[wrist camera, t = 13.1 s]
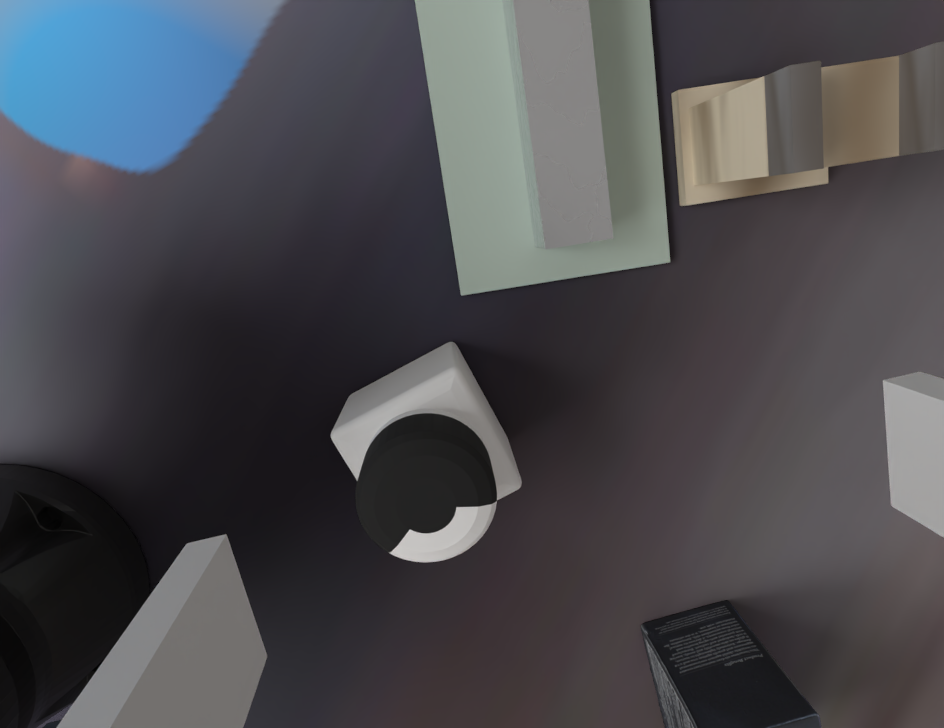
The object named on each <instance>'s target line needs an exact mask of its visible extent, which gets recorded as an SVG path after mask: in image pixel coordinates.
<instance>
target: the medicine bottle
mask: <svg viewBox="0 0 944 728" xmlns="http://www.w3.org/2000/svg"><path fill="white" fill-rule="evenodd" d="M330 436H331V439H332V441H333V443H334V444H335V446H336V448H337V449H338V451H339V452H340V454H341V456H342V457H343V459H344V460H345V462H346V464H347V465H348V467H349V469H350V470H351V472H352V473H353V475H354V477H355V478H356V480H357V485H356V492H355V502H356V510H357V513H358V517H359V519H360V522H361V524H362V526H363V528H364V529H365V531H366V533H367V534H368V535H369V537H370V538H371V539H372V540H373V541H374V542H375V543H376V544H377V545H378V546H380V547H381V548H382V549H384V550H385V551H387V552H388V553H390V554H392V555H394V556H396V557H399V558H402V559H405V560H409V561H414V562H437V561H442V560H446V559H449V558H452V557H455V556H457V555H459V554H461V553H463V552H464V551H466V550H468V549H469V548H471V547H472V546H473V545H474V544H475V543H476V542H478V540H479V539H480V538H481V537H482V536H483V535H484V533H485V532H486V530H487V529H488V527H489V525H490V523H491V521H492V519H493V516H494V513H495V510H496V504H497V500H499V499H501V498H503V497H505V496H506V495H508V494H510V493H512V492H514V491H516V490H518V489H519V488H520V487H521V484H522V481H521V477H520V474H519V471H518V468H517V465H516V462H515V459H514V456H513V453H512V450H511V447H510V444H509V441H508V438H507V436H506V434H505V432H504V430H503V428H502V427H501V425H500V423H499V421H498V419H497V418H496V416H495V414H494V412H493V410H492V408H491V407H490V405H489V403H488V401H487V399H486V397H485V396H484V394H483V392H482V390H481V388H480V387H479V385H478V383H477V381H476V379H475V377H474V376H473V374H472V372H471V370H470V368H469V367H468V365H467V363H466V361H465V359H464V357H463V356H462V354H461V352H460V350H459V348H458V346H457V345H456V344H455V343H454V342H448V343H446V344H444V345H442V346H440V347H438V348H437V349H435V350H433V351H431V352H429V353H427V354H425V355H423V356H422V357H420V358H418V359H416V360H414V361H412V362H410V363H409V364H407V365H405V366H403V367H401V368H399V369H397V370H395V371H394V372H392V373H390V374H388V375H386V376H384V377H382V378H380V379H379V380H377V381H375V382H373V383H371V384H369V385H367V386H365V387H364V388H362V389H360V390H358V391H356V392H354V393H352V394H351V395H350V396H349V397H348V399H347V401H346V403H345V405H344V407H343V409H342V411H341V413H340V415H339V417H338V420H337V422H336V424H335V426H334V428H333V430H332V432H331V435H330Z"/></svg>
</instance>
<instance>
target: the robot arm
mask: <svg viewBox="0 0 944 728" xmlns="http://www.w3.org/2000/svg"><path fill="white" fill-rule="evenodd" d="M883 389H884V404H885V420H886V435H887V451H888V466H889V482H890V497H891V506H892V507H894V508H896V509H897V510H899V511H901V512H902V513H904V514H906V515H907V516H909V517H911V518H912V519H914V520H915V521H917V522H919V523H920V524H922V525H924V526H925V527H927V528H929V529H930V530H932V531H934V532H935V533H937V534H939V535H940V536H942V537H944V379H943V378H939V377H936V376H933V375H929V374H926V373H923V372H916V373H912V374H907V375H903V376H899V377H894V378H890V379H886V380H883ZM266 659H267V654H266V651H265V648H264V645H263V642H262V639H261V636H260V633H259V630H258V627H257V624H256V621H255V618H254V615H253V612H252V609H251V606H250V603H249V600H248V597H247V594H246V591H245V588H244V585H243V582H242V579H241V576H240V573H239V570H238V567H237V564H236V561H235V558H234V555H233V552H232V549H231V546H230V543H229V540H228V537H227V534H225V535H220V536H216V537H212V538H208V539H203V540H199V541H195V542H191V543H187V544H186V545H185V547H184V548H183V549H182V551H181V552H180V554H179V555H178V556H177V558H176V559H175V561H174V562H173V564H172V565H171V566H170V568H169V569H168V571H167V572H166V573H165V575H164V576H163V578H162V579H161V580H160V582H159V583H158V585H157V586H156V588H155V589H154V590H153V592H152V593H151V595H150V596H149V577H148V571H147V567H146V563H145V559H144V556H143V554H142V551H141V549H140V546H139V544H138V542H137V541H136V539H135V537H134V535H133V534H132V532H131V530H130V529H129V527H128V526H127V525H126V523H125V522H124V521H123V520H122V518H121V517H120V516H119V515H118V514H117V513H116V512H115V511H114V510H113V509H112V508H111V507H110V506H109V505H108V504H107V503H106V502H105V501H103V500H102V499H101V498H100V497H98V496H97V495H96V494H94V493H93V492H91V491H90V490H88V489H87V488H85V487H83V486H82V485H80V484H78V483H76V482H74V481H72V480H70V479H68V478H65V477H63V476H61V475H58V474H55V473H52V472H49V471H45V470H42V469H38V468H33V467H27V466H20V465H0V728H36V727H38V726H39V725H41V724H42V723H44V722H45V721H47V720H48V719H50V718H51V717H53V716H54V715H56V714H57V713H59V712H60V711H62V710H63V709H65V708H66V707H68V706H69V705H71V704H72V703H73V702H74V703H73V705H72V706H71V708H70V709H69V711H68V712H67V713H66V715H65V716H64V718H63V719H62V720H59V721H55V722H50V723H47V724H46V725H45V726H44V727H43V728H243V727H244V724H245V721H246V718H247V715H248V712H249V709H250V706H251V703H252V700H253V697H254V694H255V691H256V688H257V685H258V683H259V680H260V677H261V674H262V671H263V668H264V665H265V662H266Z"/></svg>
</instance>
